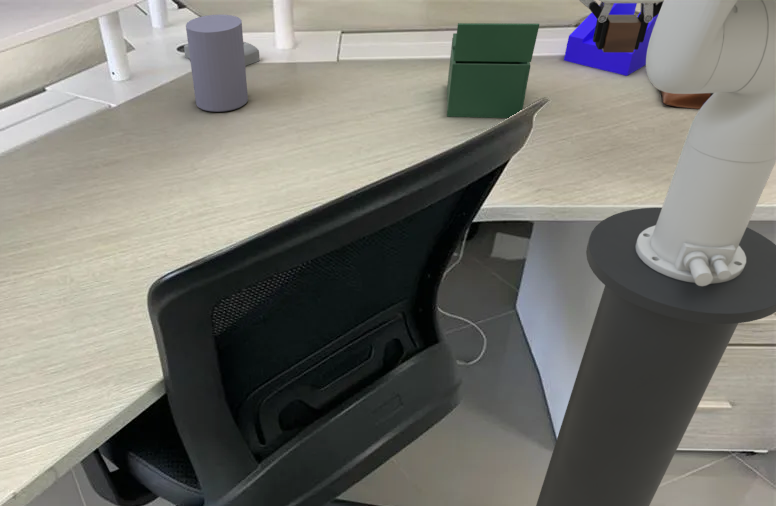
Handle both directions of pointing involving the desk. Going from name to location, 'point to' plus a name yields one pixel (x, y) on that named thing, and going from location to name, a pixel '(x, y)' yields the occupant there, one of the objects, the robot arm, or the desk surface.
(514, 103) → the carton
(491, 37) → the flap
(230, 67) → the container
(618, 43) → the block
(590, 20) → the bracket
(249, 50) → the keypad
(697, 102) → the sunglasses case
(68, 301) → the desk surface
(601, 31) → the robot arm
